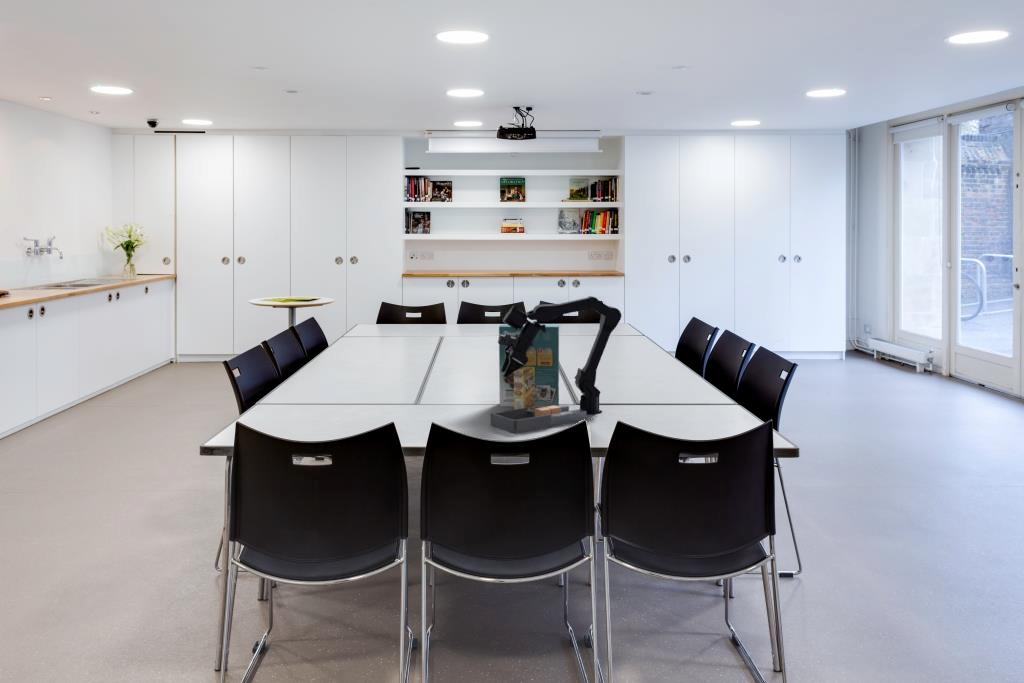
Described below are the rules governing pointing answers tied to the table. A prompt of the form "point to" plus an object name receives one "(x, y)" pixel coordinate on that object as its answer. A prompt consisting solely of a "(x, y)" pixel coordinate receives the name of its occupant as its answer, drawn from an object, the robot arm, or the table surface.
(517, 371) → the candy box
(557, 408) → the chip
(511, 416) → the tray
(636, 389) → the table surface
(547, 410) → the tan cube
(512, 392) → the teal product box
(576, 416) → the slot board
